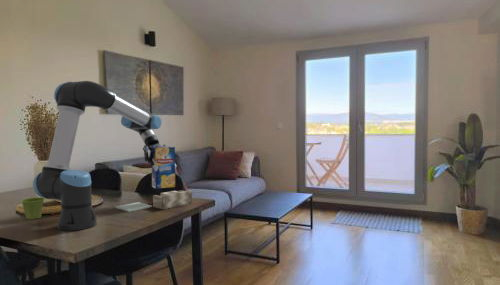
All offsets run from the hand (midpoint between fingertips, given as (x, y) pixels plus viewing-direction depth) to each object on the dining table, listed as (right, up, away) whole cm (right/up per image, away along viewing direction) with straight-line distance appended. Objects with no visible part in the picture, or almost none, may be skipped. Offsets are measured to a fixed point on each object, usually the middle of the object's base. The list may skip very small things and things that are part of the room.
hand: (166, 168), depth 196 cm
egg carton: (+4, -19, -5) cm, 20 cm away
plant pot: (-55, -21, -29) cm, 66 cm away
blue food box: (-2, -10, +2) cm, 11 cm away
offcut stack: (+4, -18, -4) cm, 19 cm away
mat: (-15, -19, -10) cm, 26 cm away
